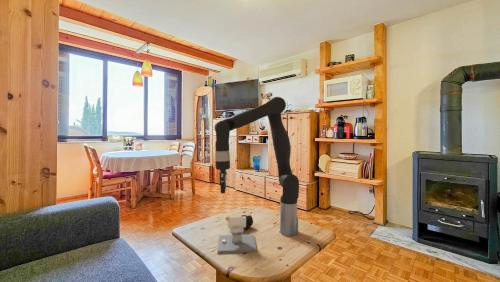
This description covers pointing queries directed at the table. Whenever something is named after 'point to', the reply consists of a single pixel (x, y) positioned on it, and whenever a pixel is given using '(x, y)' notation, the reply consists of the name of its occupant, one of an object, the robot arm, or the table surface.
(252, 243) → the base
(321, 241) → the table surface
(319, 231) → the table surface
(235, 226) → the lock knob
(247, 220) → the end cap
